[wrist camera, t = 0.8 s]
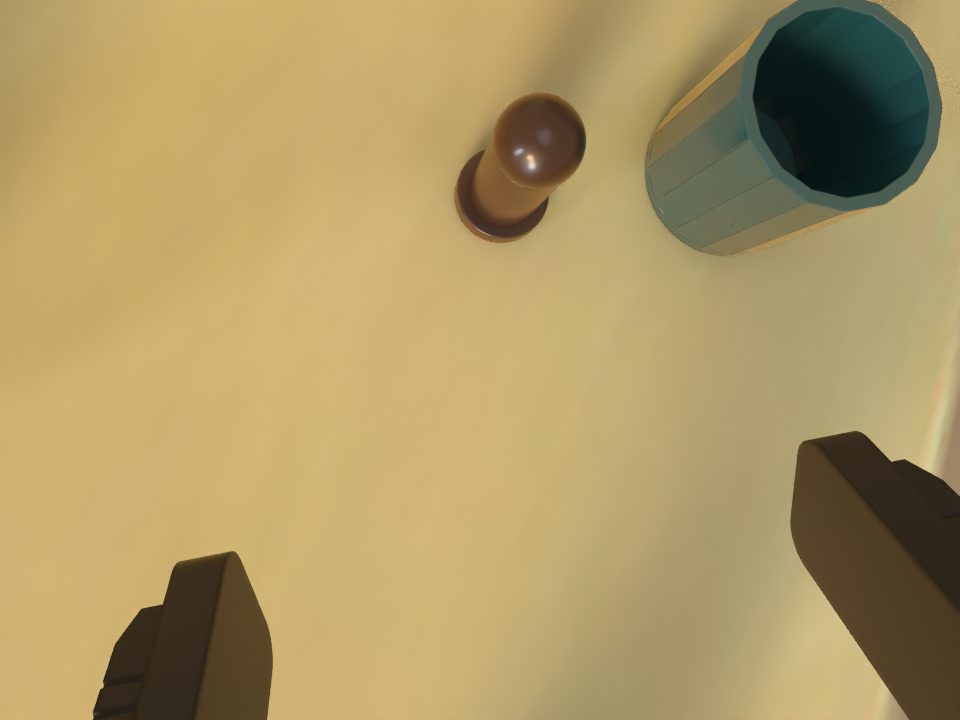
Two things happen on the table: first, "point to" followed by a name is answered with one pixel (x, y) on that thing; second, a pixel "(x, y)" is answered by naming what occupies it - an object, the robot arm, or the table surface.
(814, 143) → the cup
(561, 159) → the game pawn
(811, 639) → the table surface
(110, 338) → the table surface
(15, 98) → the table surface
